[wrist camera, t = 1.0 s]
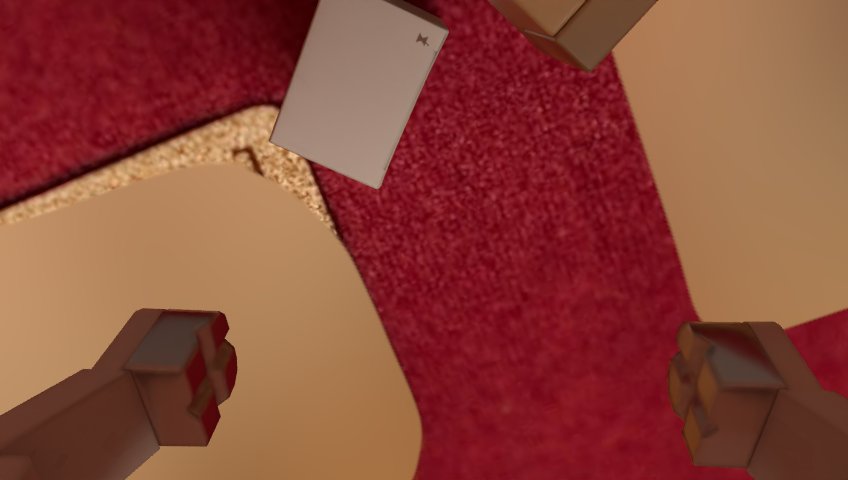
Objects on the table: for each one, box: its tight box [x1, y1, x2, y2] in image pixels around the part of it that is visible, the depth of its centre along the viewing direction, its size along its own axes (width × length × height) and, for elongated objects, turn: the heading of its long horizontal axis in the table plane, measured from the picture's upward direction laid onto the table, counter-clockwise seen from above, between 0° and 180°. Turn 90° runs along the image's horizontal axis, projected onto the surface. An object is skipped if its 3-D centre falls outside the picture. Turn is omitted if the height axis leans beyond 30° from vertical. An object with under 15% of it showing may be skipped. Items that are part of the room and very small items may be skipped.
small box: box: [269, 0, 449, 189], centre depth 31 cm, size 8×6×10 cm
